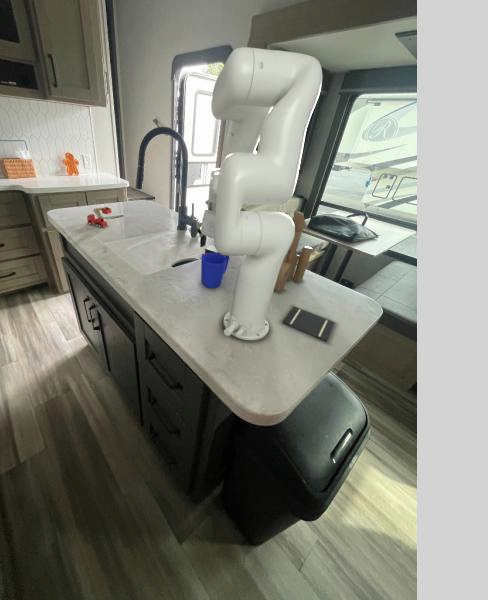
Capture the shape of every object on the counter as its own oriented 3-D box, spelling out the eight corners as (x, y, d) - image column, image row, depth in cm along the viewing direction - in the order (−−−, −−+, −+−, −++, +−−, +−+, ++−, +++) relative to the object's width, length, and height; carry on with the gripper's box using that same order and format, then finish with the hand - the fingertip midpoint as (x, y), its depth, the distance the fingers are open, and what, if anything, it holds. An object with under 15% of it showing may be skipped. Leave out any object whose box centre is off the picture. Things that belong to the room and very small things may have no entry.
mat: (325, 341, 72) (326, 340, 71) (282, 323, 77) (283, 321, 77) (333, 323, 79) (334, 322, 78) (293, 307, 84) (294, 306, 84)
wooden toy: (278, 293, 90) (300, 220, 76) (262, 284, 94) (280, 213, 80) (303, 280, 98) (327, 212, 84) (287, 273, 102) (308, 206, 88)
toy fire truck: (91, 222, 134) (88, 202, 129) (113, 227, 130) (111, 207, 124) (86, 223, 132) (83, 203, 126) (108, 229, 127) (106, 209, 122)
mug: (234, 281, 95) (238, 255, 89) (212, 293, 87) (216, 266, 82) (216, 272, 99) (219, 247, 94) (194, 283, 92) (196, 257, 86)
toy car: (223, 257, 111) (212, 253, 113) (224, 248, 108) (213, 244, 111) (213, 263, 105) (201, 259, 108) (214, 254, 103) (202, 250, 105)
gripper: (192, 203, 99) (190, 246, 109) (233, 214, 91) (226, 259, 101) (204, 199, 104) (200, 240, 114) (243, 209, 96) (236, 253, 106)
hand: (212, 249), depth 107 cm, fingers open, 9 cm apart
